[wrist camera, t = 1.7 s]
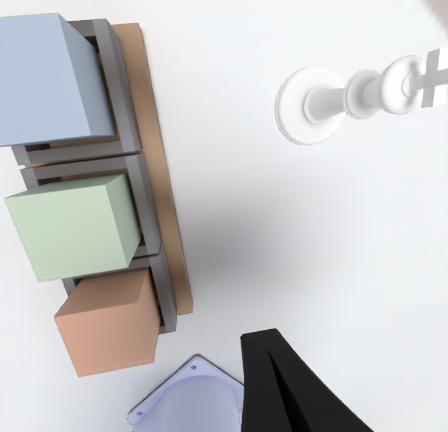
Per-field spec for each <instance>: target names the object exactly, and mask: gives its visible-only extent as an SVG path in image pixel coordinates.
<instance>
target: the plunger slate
mask: <svg viewBox="0 0 448 432" xmlns="http://www.w3.org/2000/svg"><path fill="white" fill-rule="evenodd" d="M114 135H116V132H115V128H114V124H113V120H112V116H111V112H110V108H109V104H108V100H107V95H106V91H105V87H104V83H103V79H102V75H101V71H100V67H99V63H98V59H97V54H96V50H95V47H94V46H93V45H92V44H91V43H90V42H88V41H87V40H86V39H85V38H84V37H83V36H82V35H81V34H80V33H79V32H78V31H77V30H76V29H74V28H73V27H72V26H71V25H70V24H69V23H68V22H67V21H66V20H65V19H64V18H63V17H62V16H60V15H59V14H58V13H49V14H35V15H21V16H7V17H0V147H4V146H21V145H37V144H46V143H54V142H63V141H71V140H80V139H89V138H97V137H106V136H114Z"/></svg>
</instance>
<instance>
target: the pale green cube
mask: <svg viewBox="0 0 448 432" xmlns="http://www.w3.org/2000/svg"><path fill="white" fill-rule="evenodd" d="M4 200H5V203H6V205H7V207H8V210H9V212H10V215H11V217H12V219H13V222H14V224H15V227H16V229H17V231H18V234H19V236H20V238H21V241H22V243H23V246H24V248H25V250H26V253H27V255H28V258H29V260H30V262H31V265H32V267H33V270H34V272H35V274H36V277H37V279H38V281H39V282H44V281H50V280H56V279H62V278H68V277H74V276H80V275H86V274H92V273H99V272H105V271H111V270H117V269H123V268H128V266H129V264H130V262H131V260H132V257H133V255H134V253H135V251H136V249H137V247H138V245H139V242H140V240H141V235H140V231H139V227H138V223H137V219H136V215H135V210H134V206H133V202H132V198H131V194H130V190H129V186H128V182H127V178H126V173H121V174H114V175H106V176H98V177H91V178H83V179H75V180H68V181H60V182H52V183H48V184H45V185H42V186H39V187H36V188H33V189H30V190H27V191H24V192H21V193H18V194H15V195H12V196H10V197H7V198H4Z"/></svg>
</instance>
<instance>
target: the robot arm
mask: <svg viewBox="0 0 448 432" xmlns="http://www.w3.org/2000/svg"><path fill="white" fill-rule="evenodd" d="M240 339H241V350H242V360H243V371H244V386H243V385H241V384H240V383H238V382H237V381H235V380H234V379H232V378H231V377H230V376H228V375H227V374H225V373H224V372H222V371H221V370H219V369H218V368H216V367H215V366H213V365H212V364H210V363H209V362H207V361H206V360H205V359H203V358H202V357H199V356H197V357H194V358H193V359H192V360H190V361H189V362H188V363H187V364H186V365H185V366H184V367H182V368H181V369H180V370H179V371H178V372H177V373H176V374H174V375H173V376H172V377H171V378H170V379H169V380H167V381H166V382H165V383H164V384H163V385H162V386H161V387H159V388H158V389H157V390H156V391H155V392H154V393H152V394H151V395H150V396H149V397H148V398H147V399H146V400H144V401H143V402H142V403H141V404H140V405H139V406H138V407H136V408H135V409H134V410H133V411H132V412H131V413H129V415H128V418H127V421H128V422H129V423H131V424H133V425H134V429H133V432H374V431H373V430H372V429H370V428H369V427H368V426H367V425H366V424H365V423H364V422H363V421H362V420H361V419H359V418H358V417H357V416H356V415H355V414H354V413H353V412H352V411H351V410H350V409H349V408H348V407H347V406H346V405H345V404H344V403H343V402H342V401H341V400H340V399H339V398H338V397H337V396H336V395H335V394H334V393H333V392H332V391H331V390H330V389H329V388H328V387H327V386H326V385H325V384H324V383H323V382H322V381H321V380H320V379H319V378H318V377H317V376H316V374H315V373H314V372H313V371H312V370H311V369H310V368H309V367H308V366H307V365H306V364H305V362H304V361H303V360H302V359H301V358H300V357H299V355H298V354H297V353H296V352H295V351H294V350H293V348H292V347H291V346H290V345H289V344H288V342H287V341H286V340H285V339H284V337H283V336H282V335H281V333H280V332H279V331H278V330H277V329H276V328H274V329H268V330H263V331H257V332H252V333H246V334H243V335H242V336H241V337H240ZM192 365H195V366H192ZM242 408H243V412H242V424H241V427H240V421H239V416H238V411H239V410H240V409H242Z"/></svg>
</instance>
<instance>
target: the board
mask: <svg viewBox="0 0 448 432" xmlns="http://www.w3.org/2000/svg"><path fill="white" fill-rule="evenodd" d="M67 22H68V23H69V24H70V25H71V26H72V27H73V28H74V29H76V30H77V31H78V32H79V33H80V34H81V35H82V36H83V37H84V38H85V39H86V40H87V41H88V42H90V43H91V44H92V45H93V46H94V47H95V50H96V54H97V59H98V63H99V67H100V71H101V75H102V79H103V83H104V87H105V91H106V95H107V100H108V104H109V108H110V112H111V116H112V120H113V124H114V128H115V132H116V135H114V136H106V137H97V138H89V139H80V140H71V141H63V142H54V143H46V144H37V145H21V146H11V148H12V150H13V153H14V156H15V158H16V161H17V163H18V166H19V165H25V167H26V168H25V169H20V171H21V174H22V177H23V179H24V182H25V184H26V187H27V190H30V189H33V188H36V187H39V186H42V185H45V184H48V183H52V182H60V181H68V180H75V179H83V178H91V177H98V176H106V175H114V174H121V173H126V178H127V182H128V186H129V190H130V194H131V198H132V202H133V206H134V210H135V215H136V219H137V223H138V227H139V231H140V235H141V240H140V242H139V245H138V247H137V249H136V251H135V253H134V255H133V257H132V260H131V262H130V264H129V266H128V268H123V269H117V270H111V271H105V272H99V273H92V274H86V275H80V276H74V277H68V278H62V281H63V284H64V287H65V289H66V292H67V294H68V297H69V296H70V295H71V293H72V292H73V291H74V289H75V288H76V287H77V285H78V284H79V283H80V281H81V280H82V279H83V278H86V277H92V276H98V275H104V274H110V273H116V272H122V271H128V270H134V269H140V268H146V267H148V268H149V272H150V276H151V280H152V284H153V288H154V293H155V297H156V301H157V305H158V309H159V313H160V317H161V319H160V326H159V332H158V335H159V334H164V333H169V332H174V331H176V321H177V315H182V314H188V313H193V302H192V297H191V292H190V286H189V281H188V276H187V270H186V265H185V260H184V254H183V249H182V244H181V238H180V233H179V227H178V222H177V217H176V211H175V206H174V201H173V195H172V190H171V185H170V179H169V174H168V169H167V163H166V158H165V153H164V147H163V142H162V136H161V131H160V126H159V120H158V115H157V110H156V104H155V99H154V94H153V88H152V83H151V78H150V72H149V67H148V62H147V56H146V51H145V45H144V40H143V35H142V31H141V29H140V26H139V24H138V23H129V24H116V25H110V24H109V22H108V21H107V20H106V19H93V20H80V21H67Z"/></svg>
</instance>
